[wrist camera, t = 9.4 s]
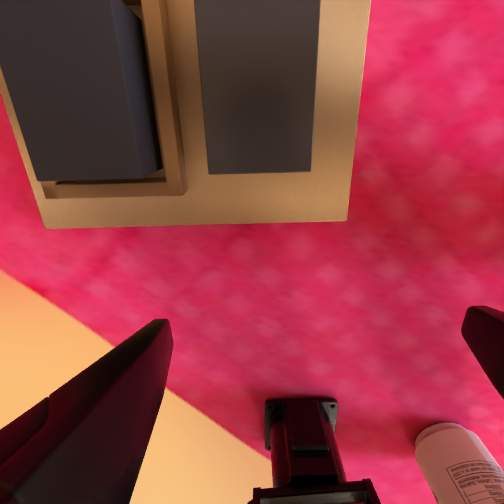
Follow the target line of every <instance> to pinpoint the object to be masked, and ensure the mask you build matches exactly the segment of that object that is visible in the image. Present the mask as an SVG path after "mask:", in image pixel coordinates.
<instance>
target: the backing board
mask: <svg viewBox="0 0 504 504" xmlns="http://www.w3.org/2000/svg"><path fill="white" fill-rule="evenodd" d="M121 1H122V2H124V3H125V4H126V5H127V6H128V7H129V8H130V9H131V10H132V11H133V12H134V13H135V14H136V15H137V16H138V17H139V18H140V19H141V23H142V29H143V36H144V43H145V50H146V57H147V63H148V70H149V77H150V84H151V91H152V98H153V104H154V111H155V118H156V125H157V132H158V138H159V145H160V152H161V159H162V166H163V168H162V169H160V170H158V171H156V172H154V173H152V174H150V175H148V176H146V177H144V178H142V179H108V180H74V181H40V182H39V181H37V179H36V176H35V173H34V170H33V167H32V164H31V160H30V157H29V154H28V151H27V148H26V145H25V142H24V139H23V136H22V132H21V129H20V126H19V123H18V120H17V117H16V114H15V111H14V108H13V104H12V101H11V98H10V95H9V92H8V89H7V86H6V83H5V80H4V76H3V73H2V70H1V67H0V93H1V96H2V99H3V102H4V105H5V108H6V111H7V114H8V117H9V120H10V123H11V126H12V129H13V133H14V136H15V139H16V142H17V145H18V148H19V151H20V154H21V157H22V160H23V163H24V166H25V169H26V172H27V175H28V178H29V181H30V184H31V187H32V190H33V193H34V196H35V199H36V202H37V205H38V208H39V211H40V214H41V217H42V221H43V224H44V227H45V229H63V228H101V227H139V226H178V225H216V224H254V223H293V222H331V221H347V214H348V205H349V196H350V187H351V178H352V168H353V159H354V150H355V141H356V132H357V123H358V114H359V105H360V96H361V87H362V78H363V69H364V60H365V51H366V42H367V33H368V24H369V15H370V6H371V0H121Z"/></svg>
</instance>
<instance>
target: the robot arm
mask: <svg viewBox="0 0 504 504" xmlns="http://www.w3.org/2000/svg"><path fill="white" fill-rule="evenodd" d="M461 332H462V336H463V338H464V340H465V341H466V343H467V344H468V346H469V348H470V349H471V351H472V352H473V354H474V356H475V357H476V359H477V360H478V362H479V364H480V365H481V367H482V368H483V370H484V372H485V373H486V375H487V376H488V378H489V379H490V381H491V382H492V384H493V385H494V387H495V388H496V390H497V391H498V392H499V394H500V395H501V396H502V398H503V399H504V312H502V311H499V310H496V309H493V308H490V307H488V306H471V307H469V308H468V309H467V311H466V314H465V318H464V321H463V325H462V328H461ZM172 350H173V337H172V332H171V327H170V322H169V320H168V319H154V320H152V321H151V322H150V323H148V324H147V325H146V326H144V327H143V328H141V329H140V330H139V331H137V332H136V333H135V334H133V335H132V336H130V337H129V338H128V339H126V340H125V341H123V342H122V343H121V344H119V345H118V346H117V347H115V348H114V349H112V350H111V351H110V352H108V353H107V354H106V355H104V356H103V357H101V358H100V359H99V360H97V361H96V362H95V363H93V364H92V365H90V366H89V367H88V368H86V369H85V370H83V371H82V372H81V373H79V374H78V375H77V376H75V377H74V378H72V379H71V380H69V381H68V382H67V383H65V384H64V385H63V386H61V387H60V388H58V389H57V390H56V391H54V392H53V393H51V394H50V396H49V397H46V398H44V399H43V400H42V401H40V402H39V403H38V404H36V405H35V406H34V407H32V408H31V409H29V410H28V411H26V412H25V413H24V414H22V415H21V416H19V417H18V418H16V419H15V420H14V421H12V422H11V423H9V424H8V425H7V426H5V427H3V428H2V429H1V430H0V504H129V503H130V499H131V496H132V493H133V490H134V487H135V483H136V481H137V478H138V474H139V471H140V468H141V465H142V462H143V459H144V456H145V452H146V449H147V446H148V443H149V440H150V436H151V434H152V430H153V427H154V424H155V421H156V418H157V415H158V412H159V408H160V405H161V402H162V399H163V395H164V390H165V386H166V381H167V376H168V371H169V366H170V361H171V356H172ZM270 405H271V406H270ZM337 412H338V403H337V400H336V399H334V398H318V399H274V400H267V401H266V402H265V448H266V450H268V451H271V461H272V477H273V488H265V489H261V488H260V487H259V488H253V499H252V500H251V501H249V502H248V504H381V503H380V500H379V498H378V496H377V493H376V491H375V489H374V487H373V484H372V482H371V480H370V478H369V479H362V481H351V482H347V480H346V476H345V472H344V469H343V465H342V461H341V458H340V454H339V450H338V447H337V443H336V439H335V436H334V435H335V427H336V420H337Z"/></svg>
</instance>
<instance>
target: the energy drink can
mask: <svg viewBox="0 0 504 504" xmlns="http://www.w3.org/2000/svg"><path fill="white" fill-rule="evenodd" d="M415 445H416V450H415V458H416V461H417V463H418V465H419V467H420V469H421V471H422V473H423V475H424V477H425V479H426V481H427V483H428V485H429V487H430V489H431V491H432V493H433V495H434V497H435V499H436V501H437V503H438V504H504V471H503V470H502V469H501V467H500V466H499V464H498V463H497V462H496V460H495V459H494V458H493V456H492V455H491V454H490V452H489V451H488V449H487V448H486V447H485V445H484V444H483V443H482V441H481V440H480V439H479V437H478V436H477V435H476V434H475V433H474V432H472V431H470V430H466V429H465V428H464V427H463V426H461V425H459V424H456V423H450V422H448V423H439V424H435V425H432V426H430V427H428V428H426V429H425V430H423V431H422V432H421V433H420V434H419V435H418V437H417V438H416V441H415Z"/></svg>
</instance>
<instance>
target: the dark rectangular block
mask: <svg viewBox="0 0 504 504" xmlns="http://www.w3.org/2000/svg"><path fill="white" fill-rule="evenodd" d="M0 67H1V70H2V73H3V76H4V80H5V83H6V86H7V89H8V92H9V95H10V98H11V101H12V104H13V108H14V111H15V114H16V117H17V120H18V123H19V126H20V129H21V132H22V136H23V139H24V142H25V145H26V148H27V151H28V154H29V157H30V160H31V164H32V167H33V170H34V173H35V176H36V179H37V181H39V182H40V181H74V180H108V179H142V178H144V177H146V176H148V175H150V174H152V173H154V172H156V171H158V170H160V169H162V168H163V166H162V159H161V152H160V145H159V138H158V132H157V125H156V118H155V111H154V104H153V98H152V91H151V84H150V77H149V70H148V63H147V57H146V50H145V43H144V36H143V29H142V23H141V19H140V18H139V17H138V16H137V15H136V14H135V13H134V12H133V11H132V10H131V9H130V8H129V7H128V6H127V5H126V4H125V3H124V2H122V1H121V0H0Z"/></svg>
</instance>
